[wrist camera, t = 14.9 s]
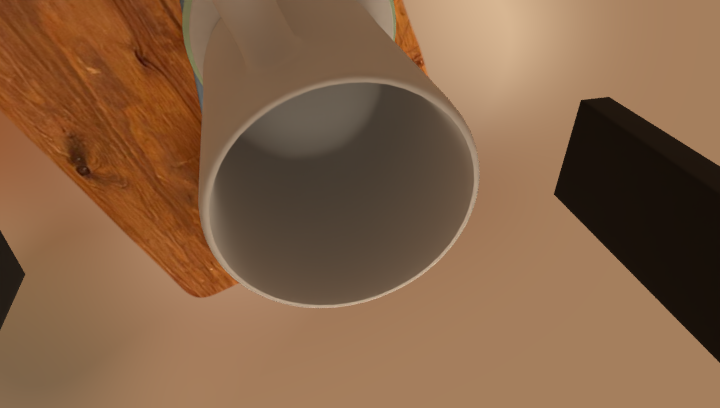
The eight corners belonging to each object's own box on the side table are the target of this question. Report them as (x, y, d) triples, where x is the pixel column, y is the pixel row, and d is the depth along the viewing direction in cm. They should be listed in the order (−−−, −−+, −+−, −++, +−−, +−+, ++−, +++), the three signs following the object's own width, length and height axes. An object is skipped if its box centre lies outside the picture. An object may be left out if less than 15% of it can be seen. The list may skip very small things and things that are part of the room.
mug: (407, 108, 25) (507, 242, 17) (262, 179, 26) (286, 346, 17) (308, -158, 18) (395, -167, 9) (105, -52, 18) (6, 35, 10)
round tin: (164, -91, 20) (157, -84, 18) (386, -93, 22) (407, -86, 20) (204, 119, 26) (203, 147, 24) (378, 104, 28) (394, 128, 26)
